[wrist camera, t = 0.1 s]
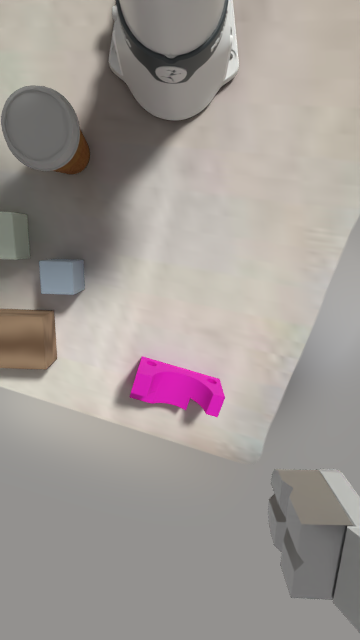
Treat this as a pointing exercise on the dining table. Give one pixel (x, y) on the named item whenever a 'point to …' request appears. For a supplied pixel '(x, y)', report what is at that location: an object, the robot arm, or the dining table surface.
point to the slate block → (61, 276)
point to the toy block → (176, 386)
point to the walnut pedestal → (27, 339)
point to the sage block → (14, 236)
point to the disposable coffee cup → (44, 131)
